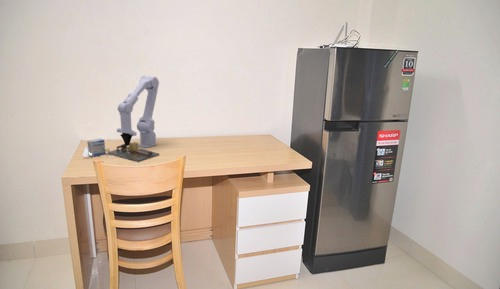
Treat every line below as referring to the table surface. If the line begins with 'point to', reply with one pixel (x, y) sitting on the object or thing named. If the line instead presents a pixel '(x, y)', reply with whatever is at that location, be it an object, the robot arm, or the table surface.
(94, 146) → the medicine box
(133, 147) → the sliding head
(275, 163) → the table surface
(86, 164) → the table surface
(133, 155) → the dark grey flat plate
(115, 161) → the table surface
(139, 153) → the beam
